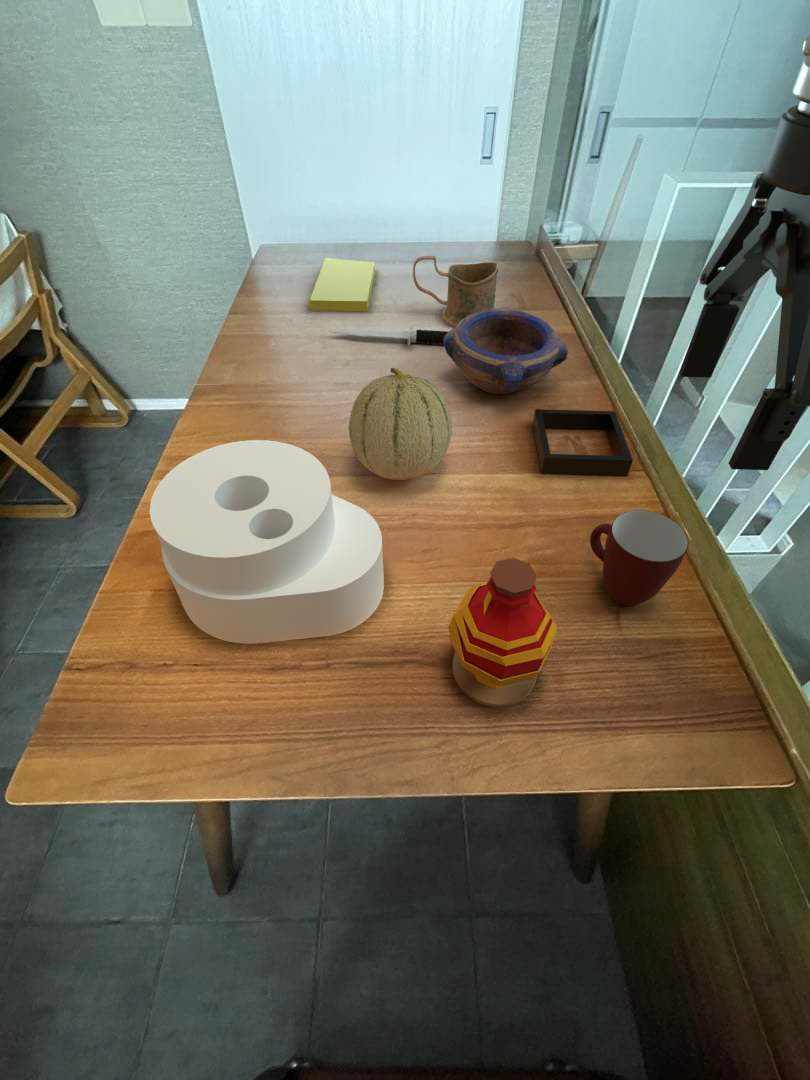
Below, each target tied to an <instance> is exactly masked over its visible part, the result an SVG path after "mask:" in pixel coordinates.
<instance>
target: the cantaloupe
mask: <svg viewBox="0 0 810 1080" xmlns="http://www.w3.org/2000/svg"><path fill="white" fill-rule="evenodd" d="M390 373H392V374H388V375H383V376H380V377H377V378H375V379H373V380H372V381H370V382H369V383H367V384H366V385H365V386H364V387H363V388H362V390H361V391H360V392H359V394H358V395H357V397H356V398H355V400H354V402H353V405H352V409H351V411H350V416H349V421H348V433H349V440H350V444H351V449H352V451H353V453H354V455H355V456H356V458H357V459H358V460H359V462H360V463H361V465H363V467H364V468H366V469H367V470H368V471H370V472H371V473H373V474H374V475H376V476H378V477H381V478H384V479H386V480H392V481H393V480H395V481H397V480H400V481H401V480H402V481H403V480H406V481H407V480H412V479H416V478H419V477H422V476H424V475H426V474H428V473H430V472H431V471H433V470H434V469H435V468H436V467H437V466H438V464H440V463H441V461H443V459H444V457H445V455H446V454H447V452H448V449H449V448H450V444H451V439H452V435H453V420H452V414H451V410H450V408H449V405H448V403H447V401H446V399H445V398H444V396H443V394H442V392H441V391H440V390H439V389H438V388H437V387H436V386H435V385H434V383H432V382H430V381H429V380H427V379H425V378H422V377H420V376H416V375H412V374H407V373H406V374H405V373H403V371H401V370H400V369H398V368H397V367H390Z"/></svg>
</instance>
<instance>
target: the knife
mask: <svg viewBox="0 0 810 1080" xmlns="http://www.w3.org/2000/svg"><path fill="white" fill-rule="evenodd" d="M448 332H449V330H448V331H447V330H428V329H414V328H413V325H410V326H409V329H408V331H407V330H402V331H399V330H398V331H396V330H380V329H379V330H378V329H365V328H364V329H362V328H345V329H337V330H331V331H329V333H334V334H342V335H349V336H355V337H356V336H357V337H363V338H374V339H375V338H376V339H391V340H407V347H411V344H412V343H415V344H416V343H417V344H430V345H444V342H443V339H444V336H445V335H446V334H447V333H448Z"/></svg>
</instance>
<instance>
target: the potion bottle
mask: <svg viewBox="0 0 810 1080" xmlns="http://www.w3.org/2000/svg"><path fill="white" fill-rule="evenodd" d="M489 573H490V577H489V579H488V581H487V583H483V584H478V585H476V586H474V587H470V588H469V589H468V590H467V592H466V593H465V594H464V597H462V600H461V601H460V603H459V604H458V606H457V608H456V610H455V612H454V614H453V616H452V618H451V620H450V622H449V625H448V626H447V627H448V634H449V641H450V643H451V645H452V648H453V649H454V652H456V653H457V655H458V657H459V659H460V661H461V663H462V665H463V667H464V668H465V669H466V670H468V671H469V672H471V673H473V674H474V675H475V677H476V679H477V681H479V682H481V683H483V684H485V685H488V686H490V687H492V688H494V689H498V688H501V687H505V686H508V685H512V684H514V683H518V682H523V681H527V680H531V679H534V678H535V676H536V675H537V676H538V674H539V673H540V671H541V669H542V667H543V665H544V663H545V661H546V659H547V657H548V655H549V653H550V651H551V649H552V647H553V644H554V642H555V638H556V634H557V629H558V626H557V624H556V621H555V620H554V619H553V617H552V616H551V614H550V612H549V611H548V609H547V608H546V607H545V605H544V603H543V602H542V601H541V599H540V597H539V596H538V594H537V592H536V589H537V587H536V585H535V582H536V580H537V578H538V575H537V573H536V572H535V570H534V569H533V567H532V565H531V564H530V562H529V563H528V562H526V561H524V560H521V559H518V558H516V557H509V558H505V559H500V560H497V561H496V562H495V563H494V565H493V567H492V569H491V571H490V572H489Z"/></svg>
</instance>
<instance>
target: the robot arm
mask: <svg viewBox="0 0 810 1080" xmlns="http://www.w3.org/2000/svg"><path fill="white" fill-rule="evenodd" d="M801 50H802V54H803V56H804V59H803V61H802V63H801V66H800V69H799V72H798V74H797V77H796V80H795V83H794V85H793V88H792V91H791V93H792V94H793V96H794V99H796V100H797V101H799V102H798V104H797V105H793V106H791V107H789V108H788V109H787V111H786V112H784V113H782V114H781V117H780V120H779V122H778V125H777V128H776V131H775V132H774V135H773V138H772V141H771V142H770V143H771V144H770V146H769V150H768V151H767V154H766V157H765V159H764V162H763V165H762V168H761V172H760V173H757V174H756V175H755V177H754V179H753V182H752V184H751V187H750V189H749V190H748V192H747V196H746V198H745V200H744V203H743V204H742V206H741V208H740V209H739V211H738V213H737V215H735V218H734V219H733V221H732V222H731V224H730V226H729V228H728V229H727V231H726V232H725V234H724V235H723V237H722V239H721V240H720V242H719V243H718V245H717V247H716V248H715V250H714V251H713V253H712V254H711V257H710V258H709V259H708V261H707V263H706V264H705V266H704V268H703V270H702V271H701V273H700V276H699V284H700V285H703V286H704V285H705V288H704V292H703V300H704V301H705V303H704V304H703V307H702V310H701V311H700V315H699V318H698V320H697V323H696V325H695V328H694V330H693V334H692V337H691V339H690V342H689V345H688V347H687V350H686V353H685V355H684V358H683V361H682V364H681V366H680V368H679V372H678V374H679V375H680V377H681V378H709V379H710V378H712V376H713V375H714V371H715V369H716V367H717V364H718V362H719V360H720V357H721V355H722V352H723V350H724V347H725V345H726V344H727V343H726V342H727V340H728V338H729V336H730V333H731V330H732V328H733V326H734V323H735V321H736V318H737V316H738V314H739V312H740V306H738V305H737V304H734V303H733V304H732V303H730V302H746V299H745V297H746V296H745V295H746V294H745V293H746V292H747V291H749V289H750V288H752V287H753V285H755V284H756V283H757V282H758V281H759V280H760V279H761V278H762V277H763V276H765V275H766V274H767V273H768V272H769V271H770V270H771V273H772V275H773V277H774V278H775V293H776V294H777V295H778V296H779V297H780V298H781V307H780V308H781V310H780V321H779V333H778V343H777V354H776V366H775V378H774V387H773V388H766V387H765V388H764V390H763V391H762V394H761V396H760V398H759V400H758V401H757V404H756V406H755V408H754V410H753V412H752V414H751V416H750V418H749V420H748V422H747V425H746V426H745V429H744V430H743V433H742V435H741V436H740V439H739V440H738V442H737V445H736V447H735V449H734V451H733V453H732V455H731V457H730V459H729V461H728V463H727V464H728V466H729V467H730V469H731V470H742V471H744V470H745V471H769V469H770V467H771V466H772V464H773V462H774V460H775V458H776V457H777V455H778V453H779V451H780V449H781V448H782V446H783V444H784V442H786V441H787V440H788V439H789V438H790V437H791V435H792V433H793V431H794V429H795V428H796V426H797V425H798V423H799V421H800V420H801V417H802V416H803V414H804V412H805V410H806V409H807V407H810V34H809V35H808V36H807V37H806V38H805V39H804V41H803V45H802V49H801ZM720 268H723V269H720Z"/></svg>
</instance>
